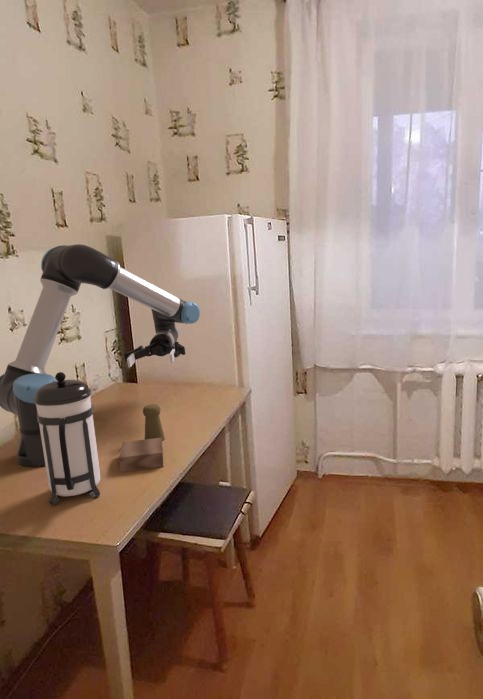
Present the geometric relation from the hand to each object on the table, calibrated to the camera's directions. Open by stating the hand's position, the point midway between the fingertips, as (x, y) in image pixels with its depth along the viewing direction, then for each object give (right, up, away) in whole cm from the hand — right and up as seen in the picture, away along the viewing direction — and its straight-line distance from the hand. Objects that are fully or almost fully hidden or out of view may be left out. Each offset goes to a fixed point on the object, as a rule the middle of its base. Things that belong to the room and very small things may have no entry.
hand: (149, 360), depth 158 cm
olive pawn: (+2, -24, -5) cm, 25 cm away
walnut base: (+2, -27, -20) cm, 34 cm away
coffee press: (-11, -31, -37) cm, 49 cm away
